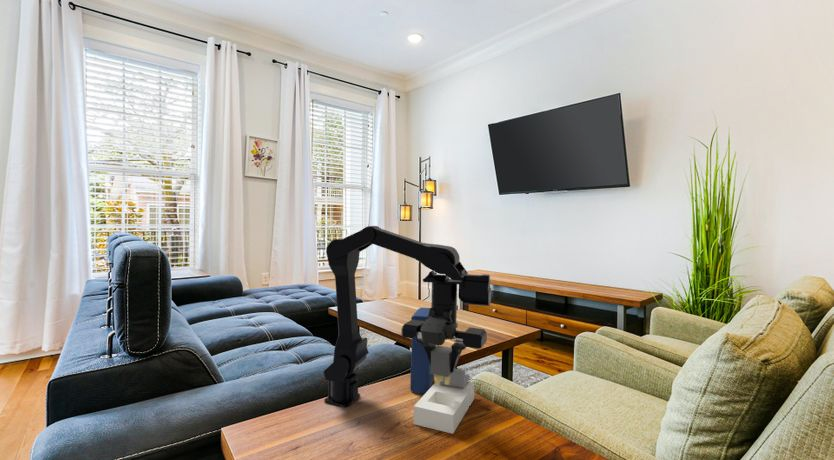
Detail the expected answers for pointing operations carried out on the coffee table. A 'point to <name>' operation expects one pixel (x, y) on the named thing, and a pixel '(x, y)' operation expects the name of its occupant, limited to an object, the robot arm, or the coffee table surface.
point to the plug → (441, 364)
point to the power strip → (443, 407)
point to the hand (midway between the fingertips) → (442, 370)
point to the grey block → (457, 378)
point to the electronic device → (420, 360)
